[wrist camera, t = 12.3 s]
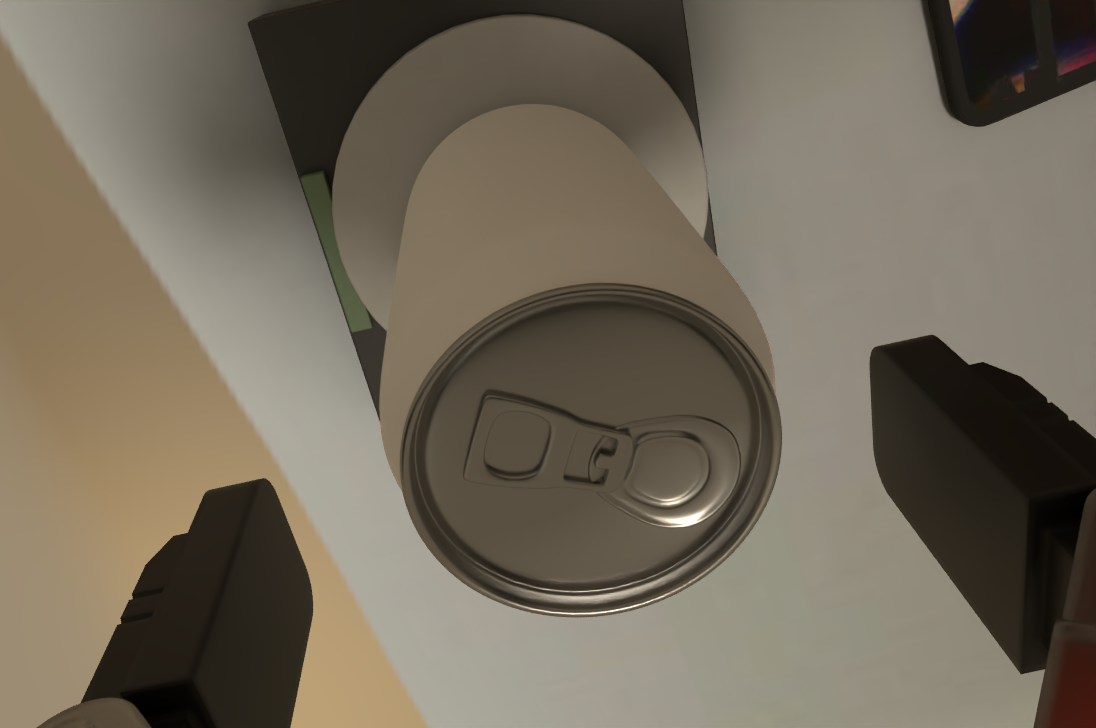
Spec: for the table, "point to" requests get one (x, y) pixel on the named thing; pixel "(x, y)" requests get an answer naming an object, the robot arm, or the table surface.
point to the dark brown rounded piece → (1012, 53)
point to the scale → (461, 110)
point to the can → (570, 373)
